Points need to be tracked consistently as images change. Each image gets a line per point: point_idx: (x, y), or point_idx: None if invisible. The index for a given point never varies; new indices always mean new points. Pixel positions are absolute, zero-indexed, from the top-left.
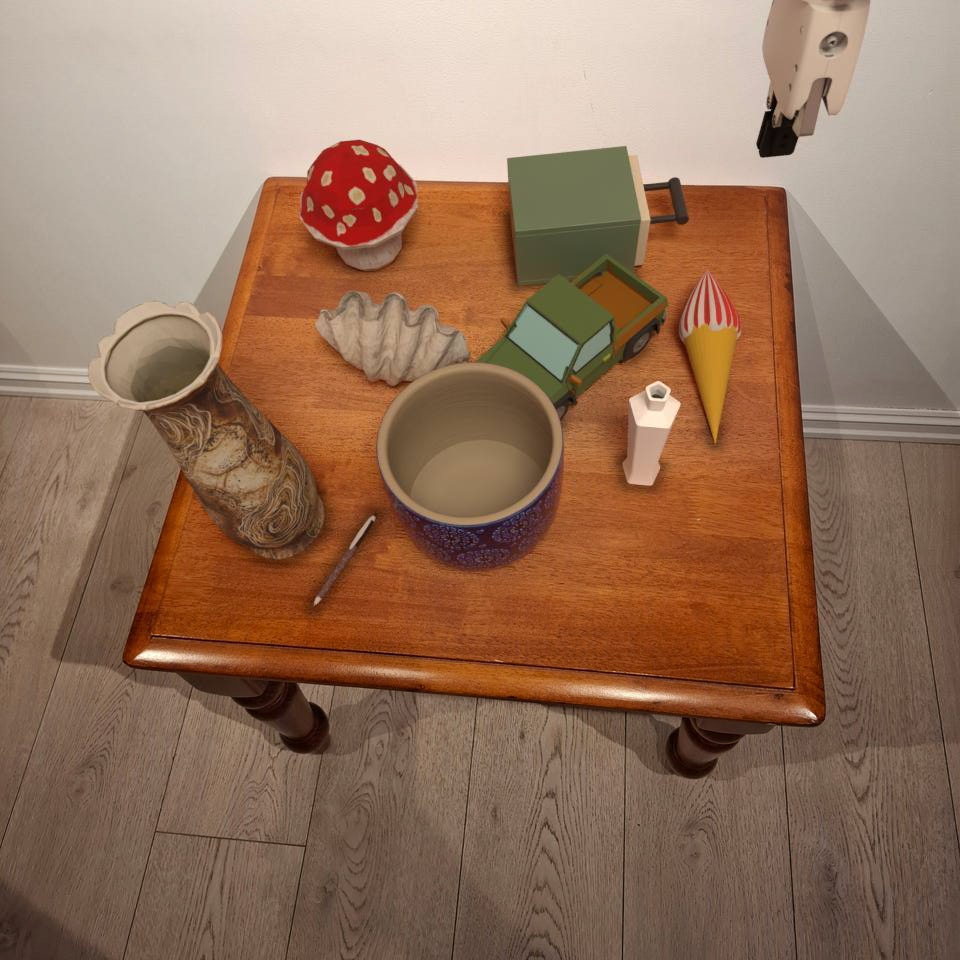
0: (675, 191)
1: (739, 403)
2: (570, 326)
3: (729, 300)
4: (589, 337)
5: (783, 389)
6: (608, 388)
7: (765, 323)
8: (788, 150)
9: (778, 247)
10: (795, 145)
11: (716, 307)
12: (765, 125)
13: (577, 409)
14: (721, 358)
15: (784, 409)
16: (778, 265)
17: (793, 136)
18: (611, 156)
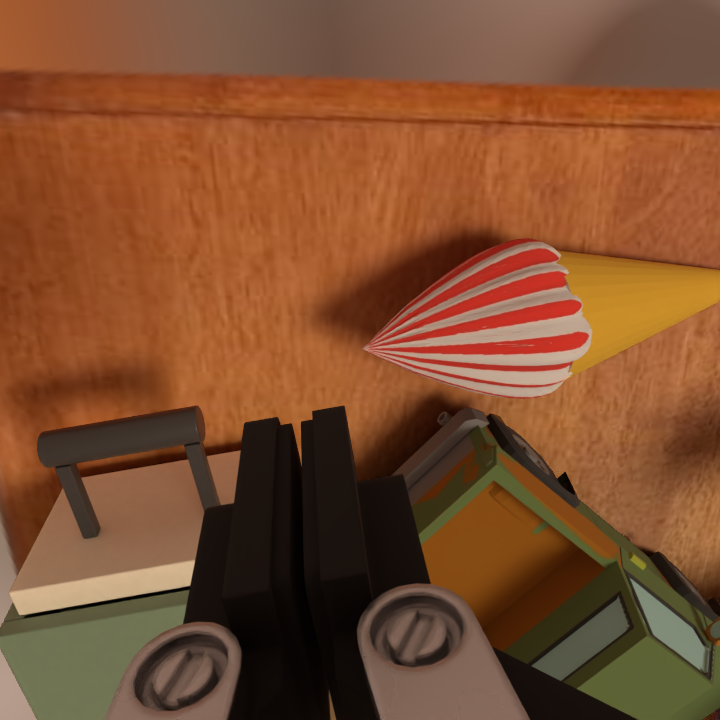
0: (99, 455)
1: (673, 218)
2: (662, 710)
3: (484, 296)
4: (697, 673)
5: (649, 105)
6: (596, 481)
7: (439, 139)
8: (403, 479)
9: (154, 81)
10: (348, 435)
11: (543, 350)
12: (329, 702)
13: (636, 528)
14: (640, 304)
15: (708, 107)
16: (227, 87)
17: (419, 548)
18: (50, 666)
